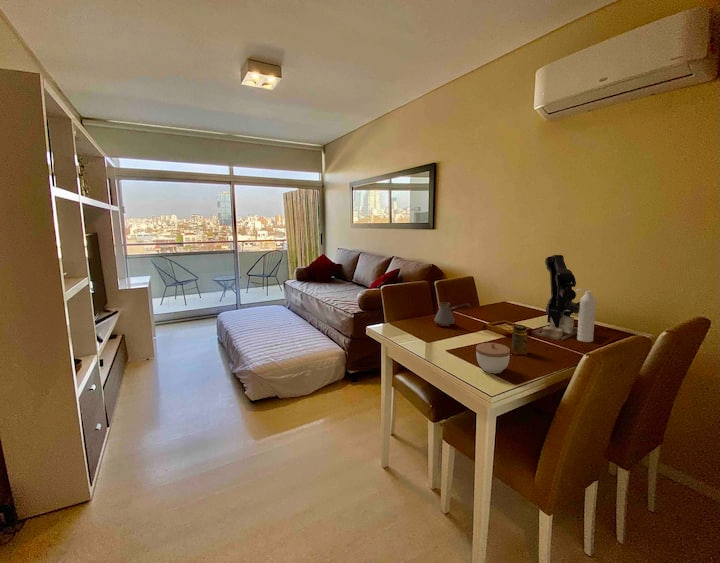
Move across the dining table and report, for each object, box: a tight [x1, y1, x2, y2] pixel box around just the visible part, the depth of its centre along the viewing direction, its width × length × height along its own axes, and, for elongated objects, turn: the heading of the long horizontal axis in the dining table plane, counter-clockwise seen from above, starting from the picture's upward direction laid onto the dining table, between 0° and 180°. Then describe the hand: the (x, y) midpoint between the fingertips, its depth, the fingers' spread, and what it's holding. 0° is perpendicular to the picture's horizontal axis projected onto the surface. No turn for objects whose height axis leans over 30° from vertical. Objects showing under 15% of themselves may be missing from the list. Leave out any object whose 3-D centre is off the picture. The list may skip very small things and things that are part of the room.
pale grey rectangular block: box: [549, 315, 575, 334], centre depth 177 cm, size 10×3×9 cm, turn 36°
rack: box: [531, 324, 578, 342], centre depth 175 cm, size 14×23×2 cm, turn 126°
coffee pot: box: [433, 301, 470, 325], centre depth 193 cm, size 21×12×15 cm, turn 44°
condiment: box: [511, 324, 528, 353], centre depth 152 cm, size 7×8×12 cm
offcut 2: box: [541, 331, 564, 338], centre depth 172 cm, size 8×5×2 cm, turn 41°
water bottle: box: [575, 288, 597, 343], centre depth 162 cm, size 9×6×25 cm
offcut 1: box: [541, 325, 564, 334], centre depth 171 cm, size 8×5×2 cm, turn 45°
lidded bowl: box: [475, 342, 511, 375], centre depth 135 cm, size 13×13×11 cm
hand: (561, 325), depth 177 cm, fingers open, 9 cm apart
